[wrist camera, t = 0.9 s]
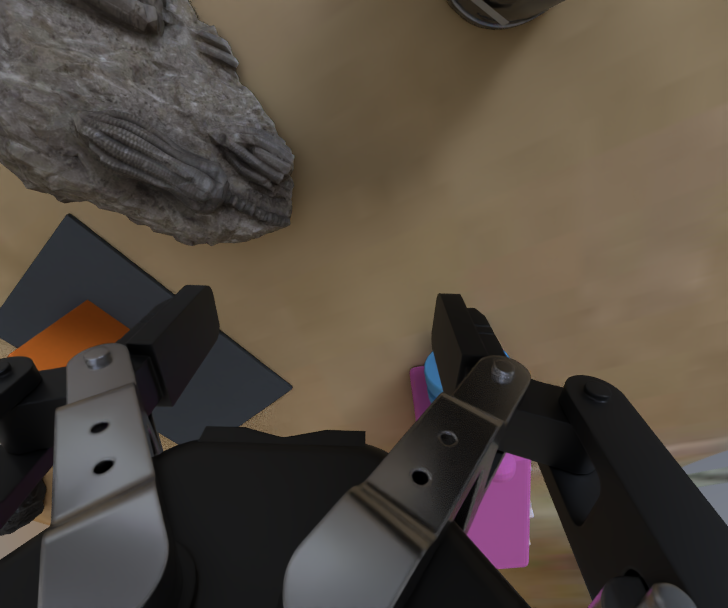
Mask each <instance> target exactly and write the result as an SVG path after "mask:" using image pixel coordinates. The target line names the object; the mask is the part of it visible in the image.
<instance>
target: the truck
mask: <svg viewBox="0 0 728 608" xmlns="http://www.w3.org/2000/svg"><path fill="white" fill-rule="evenodd" d="M129 330H130V329H129V328H127V327H126V326H125V325H123V324H122V323H120V322H119V321H117V320H116V319H115V318H113V317H112V316H110V315H109V314H107V313H106V312H105V311H103V310H102V309H100V308H99V307H97V306H96V305H94V304H93V303H92V302H90V301H89V300H86V301H85V302H83V303H82V304H80V305H79V306H78V307H76V308H75V309H73V310H72V311H70V312H69V313H68V314H66V315H65V316H63V317H62V318H60V319H59V320H58V321H56V322H55V323H53V324H52V325H50V326H49V327H48V328H46V329H45V330H43V331H42V332H40V333H39V334H38V335H36V336H35V337H33V338H32V339H30V340H29V341H28V342H26V343H25V344H23V345H22V346H21V347H19V348H18V349H16V350H15V351H13V352H12V353H11V354H9V355H8V357H13V356H25V357H29V358H31V359H32V360H33V362H34V364H35V366H36V368H37V369H38V371H41V370H47V369H54V368H60V367H66V366H67V363H68V362H69V360H70V359H71V358H72V357H74V356H75V355H76V354H78V353H80V352H81V351H83V350H86V349H88V348H90V347H93V346H96V345H101V344H106V343H116V342H117V341H119V340H120V339H121V338H122V337H123V336H124V335H125V334H126V333H127V332H128V331H129ZM0 445H1V443H0Z"/></svg>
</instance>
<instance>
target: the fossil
mask: <svg viewBox="0 0 728 608" xmlns="http://www.w3.org/2000/svg"><path fill="white" fill-rule="evenodd" d="M238 64H239V63H238V61H237V59H236V58H235V57H234V56H233V55H232V50H231V47H230V45H229V44H228V42H227V41H226V40H225V39H223V38H221V37H219V36H218V34H217V31H216V28H215V26H214V25H213V26H208V25H207V24H205V23H203V22H201V21H199V20H198V19H197V17H196V14H195V11H194V9H193V8H192V7H191V5H190V4H189V2H188V0H0V163H1V164H3V165H4V166H5V167H6V168H8V169H9V170H10V171H11V172H13V173H14V174H15V175H16V176H18V178H19V179H20V180H21V181H22V182H23V184H24V185H25V187H26V188H27V189H31V190H35V191H39V192H42V193H49V194H51V195H53V196H55V198H56V199H57V200H58V201H60V202H63V203H70V202H82V201H89V202H91V203H93V204H95V205H96V206H97V207H98V208H100V209H104V210H109V211H113V212H118V213H121V214H124V215H126V216H127V217H128V218H129V220H131V221H132V222H134V223H136V224H137V225H147V226H149V227H150V228H151V229H152V231H153V232H157V233H162V234H167V235H171V236H173V237H174V238H175V240H176V241H179V242H181V243H183V244H186V245H190V246H194V245H197V244H204V243H207V244H209V245H210V246H213V245H216V244H218V243H239V242H246V241H249V240H251V239H255V238H259V237H261V236H263V235H265V234H267V233H271V232H274V231H277V230H279V229H282V228H285V227H287V226H289V225H290V216H291V213H292V205H291V204H292V201H291V197H292V189H293V187H294V182H293V179H292V178H291V177H290V175H291V173H292V171H293V160H294V157H295V156H294V155H293V154H292V152H291V149H290V148H289V147H288V146H287V145H285V142H286V141H285V140H283V139H282V138H281V137H279V136H278V134H277V131H276V129H275V123H274V122H273V121H272V120H271V119H270V118H269V117H268V116H267V114H266V113H265V112H264V110H263V108H262V106H261V104H260V103H259V101H258V100H257V99H256V97H255V96H254V95H253V93H252V92H251V91H250V90H249V89H248V88H247V87H245V86H243V85H242V84H241V83H240V82H239V77H238V75H237V74H236V72H235V70H236V67H237V66H238Z"/></svg>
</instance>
